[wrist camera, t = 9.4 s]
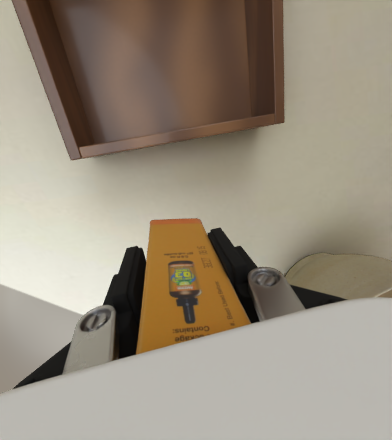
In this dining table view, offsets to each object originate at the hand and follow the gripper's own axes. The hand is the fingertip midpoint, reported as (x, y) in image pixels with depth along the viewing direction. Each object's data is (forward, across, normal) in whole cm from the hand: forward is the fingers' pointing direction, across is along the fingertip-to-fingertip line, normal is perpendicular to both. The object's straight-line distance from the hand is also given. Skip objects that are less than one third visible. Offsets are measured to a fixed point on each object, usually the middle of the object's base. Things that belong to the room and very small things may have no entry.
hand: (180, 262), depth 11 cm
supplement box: (+3, 0, 0) cm, 3 cm away
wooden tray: (+12, -2, -13) cm, 18 cm away
